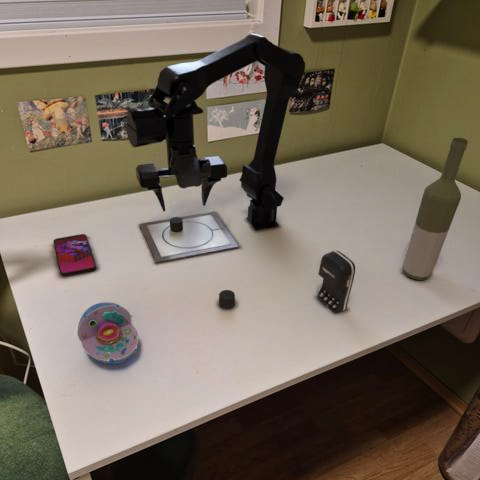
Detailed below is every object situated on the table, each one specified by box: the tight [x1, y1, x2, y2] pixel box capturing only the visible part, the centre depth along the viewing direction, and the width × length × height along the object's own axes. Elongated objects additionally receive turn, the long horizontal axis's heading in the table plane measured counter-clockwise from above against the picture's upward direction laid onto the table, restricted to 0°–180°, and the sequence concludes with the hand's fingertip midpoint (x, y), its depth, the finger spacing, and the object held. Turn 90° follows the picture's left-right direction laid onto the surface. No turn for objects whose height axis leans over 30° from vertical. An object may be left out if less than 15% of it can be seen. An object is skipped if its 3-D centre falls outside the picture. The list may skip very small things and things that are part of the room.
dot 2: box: [218, 289, 236, 310], centre depth 95 cm, size 3×3×2 cm
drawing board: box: [139, 211, 240, 264], centre depth 115 cm, size 20×18×1 cm
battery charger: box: [317, 250, 356, 313], centre depth 93 cm, size 7×4×11 cm, turn 31°
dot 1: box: [169, 216, 183, 232], centre depth 115 cm, size 3×3×2 cm
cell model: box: [77, 301, 139, 364], centre depth 81 cm, size 10×12×10 cm
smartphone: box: [53, 233, 97, 277], centre depth 107 cm, size 8×1×15 cm
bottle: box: [402, 137, 469, 281], centre depth 96 cm, size 7×7×30 cm
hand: (184, 207), depth 105 cm, fingers open, 9 cm apart
